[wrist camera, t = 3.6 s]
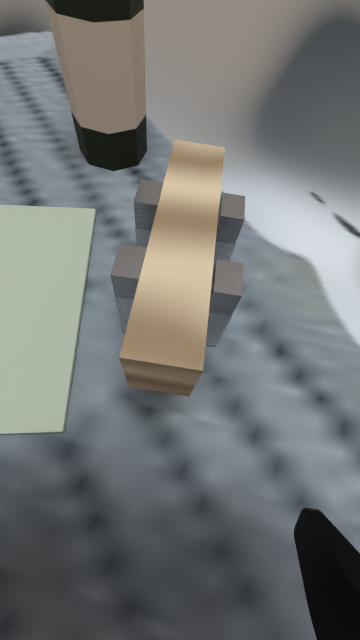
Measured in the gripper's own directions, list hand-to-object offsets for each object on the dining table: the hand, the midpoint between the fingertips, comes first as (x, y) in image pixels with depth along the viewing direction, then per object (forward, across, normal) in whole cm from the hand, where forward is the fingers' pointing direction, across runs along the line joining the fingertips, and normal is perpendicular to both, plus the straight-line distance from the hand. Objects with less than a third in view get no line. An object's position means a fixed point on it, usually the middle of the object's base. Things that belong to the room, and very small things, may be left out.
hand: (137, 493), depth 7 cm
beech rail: (+14, 0, -4) cm, 14 cm away
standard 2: (+17, 0, +1) cm, 17 cm away
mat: (+17, +13, +1) cm, 22 cm away
